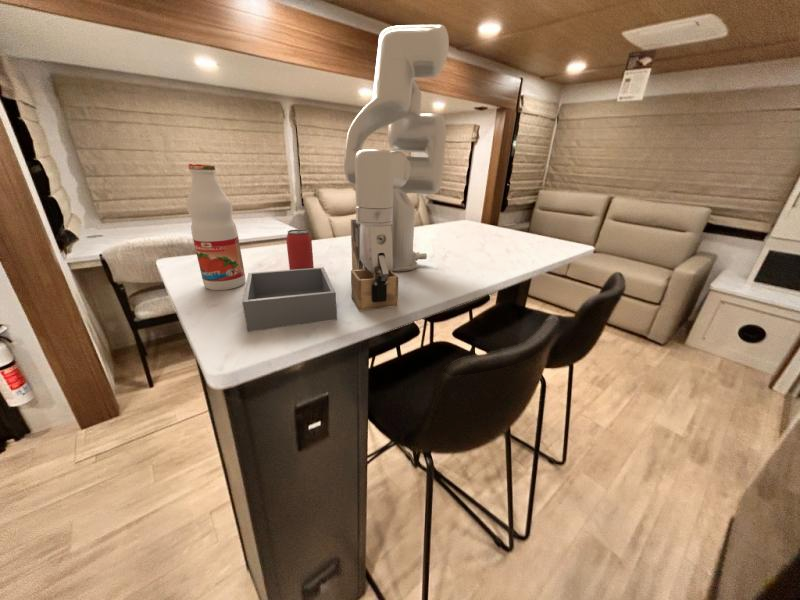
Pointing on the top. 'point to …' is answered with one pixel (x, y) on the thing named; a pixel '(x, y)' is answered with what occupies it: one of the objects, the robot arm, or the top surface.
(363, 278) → the small crate
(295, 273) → the big crate
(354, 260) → the coffee box
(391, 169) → the robot arm
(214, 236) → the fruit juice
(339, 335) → the top surface
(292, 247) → the beer can
